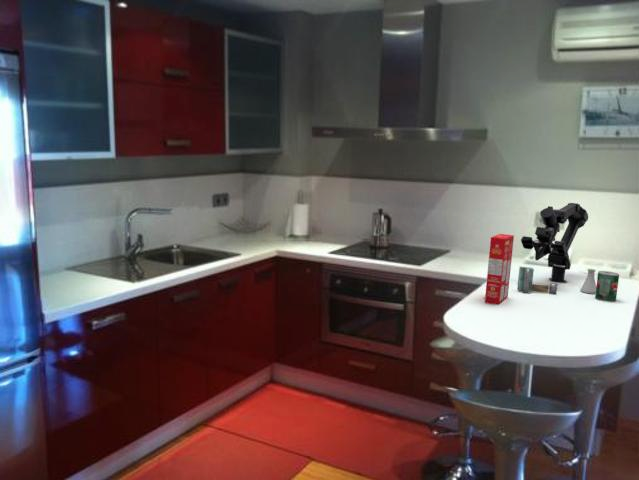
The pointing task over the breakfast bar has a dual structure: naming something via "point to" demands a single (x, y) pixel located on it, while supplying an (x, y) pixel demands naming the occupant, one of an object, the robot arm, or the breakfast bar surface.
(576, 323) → the breakfast bar surface
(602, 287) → the canned tomato
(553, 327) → the breakfast bar surface
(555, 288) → the hinge post
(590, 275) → the flask
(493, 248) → the food packaging
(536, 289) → the gate
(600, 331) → the breakfast bar surface
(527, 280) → the post
